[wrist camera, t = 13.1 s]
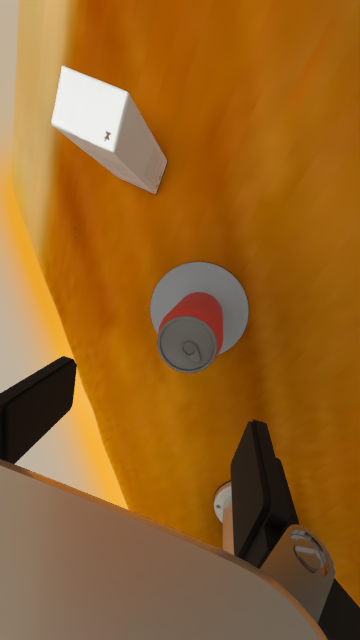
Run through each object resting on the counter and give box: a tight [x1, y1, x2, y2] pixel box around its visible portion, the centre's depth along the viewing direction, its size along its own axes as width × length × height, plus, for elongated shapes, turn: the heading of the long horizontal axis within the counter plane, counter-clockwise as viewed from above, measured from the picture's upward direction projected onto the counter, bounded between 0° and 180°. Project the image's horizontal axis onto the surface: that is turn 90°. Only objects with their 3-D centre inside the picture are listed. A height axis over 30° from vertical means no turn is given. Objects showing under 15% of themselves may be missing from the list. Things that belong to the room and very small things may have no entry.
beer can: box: [157, 292, 223, 373], centre depth 25 cm, size 7×7×12 cm
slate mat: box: [150, 262, 249, 355], centre depth 31 cm, size 14×14×1 cm
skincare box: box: [51, 66, 167, 194], centre depth 23 cm, size 6×4×12 cm
